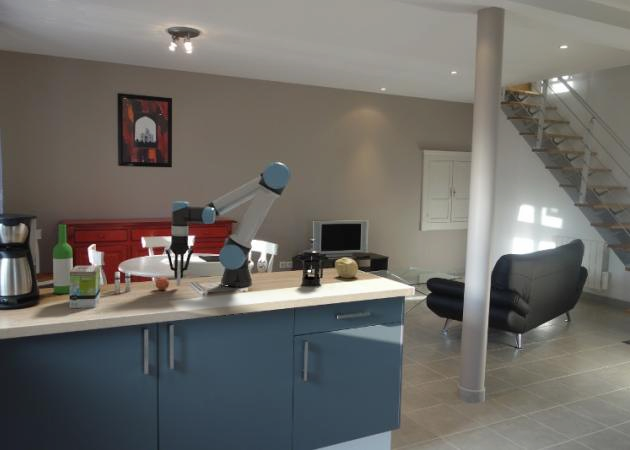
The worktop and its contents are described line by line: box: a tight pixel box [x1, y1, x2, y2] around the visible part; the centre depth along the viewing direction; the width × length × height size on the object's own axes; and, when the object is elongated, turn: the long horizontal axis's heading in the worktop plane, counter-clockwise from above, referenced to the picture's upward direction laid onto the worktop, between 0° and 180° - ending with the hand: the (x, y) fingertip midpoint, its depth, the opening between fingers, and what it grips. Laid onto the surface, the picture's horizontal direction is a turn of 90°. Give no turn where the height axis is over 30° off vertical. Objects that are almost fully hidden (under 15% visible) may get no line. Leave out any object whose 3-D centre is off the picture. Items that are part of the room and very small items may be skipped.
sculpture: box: [334, 256, 359, 279], centre depth 281 cm, size 11×12×11 cm
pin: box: [114, 273, 121, 295], centre depth 229 cm, size 2×2×8 cm
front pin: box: [124, 272, 131, 293], centre depth 233 cm, size 2×2×8 cm
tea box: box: [68, 265, 101, 309], centre depth 209 cm, size 15×10×15 cm, turn 17°
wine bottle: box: [52, 224, 74, 295], centre depth 227 cm, size 8×8×30 cm
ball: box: [155, 276, 170, 291], centre depth 238 cm, size 6×6×6 cm
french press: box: [301, 238, 324, 287], centre depth 259 cm, size 12×9×23 cm
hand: (178, 285), depth 241 cm, fingers closed
